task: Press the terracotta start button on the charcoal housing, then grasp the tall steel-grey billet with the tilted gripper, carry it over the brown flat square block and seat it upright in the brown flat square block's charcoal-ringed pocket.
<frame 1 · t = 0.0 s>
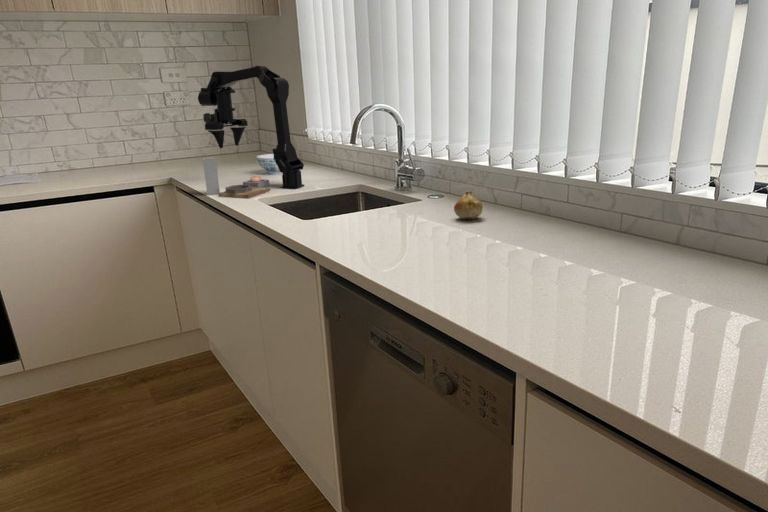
hand: (229, 146, 224), 15 cm above the worktop, tool pointing down, fingers open, 9 cm apart
start button: (255, 180, 219), point 3 cm above the worktop, slide at 0.0 cm
onion: (467, 219, 160), on the worktop
chinaware: (275, 173, 251), on the worktop
brown flat square block: (245, 193, 207), on the worktop
button housing: (256, 187, 219), on the worktop
billet: (213, 193, 210), on the worktop
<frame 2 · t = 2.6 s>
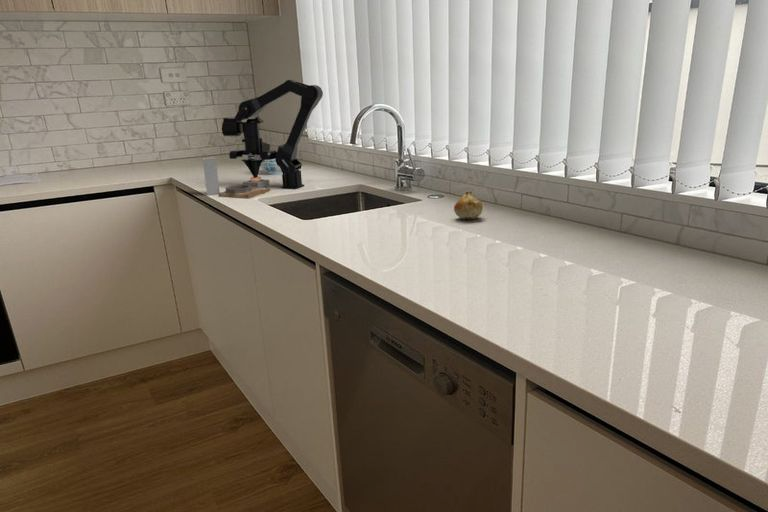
hand: (255, 177, 218), 4 cm above the worktop, tool pointing down, fingers closed, pressing on start button
start button: (255, 180, 219), point 3 cm above the worktop, slide at 0.2 cm, touching gripper
everything else where it was.
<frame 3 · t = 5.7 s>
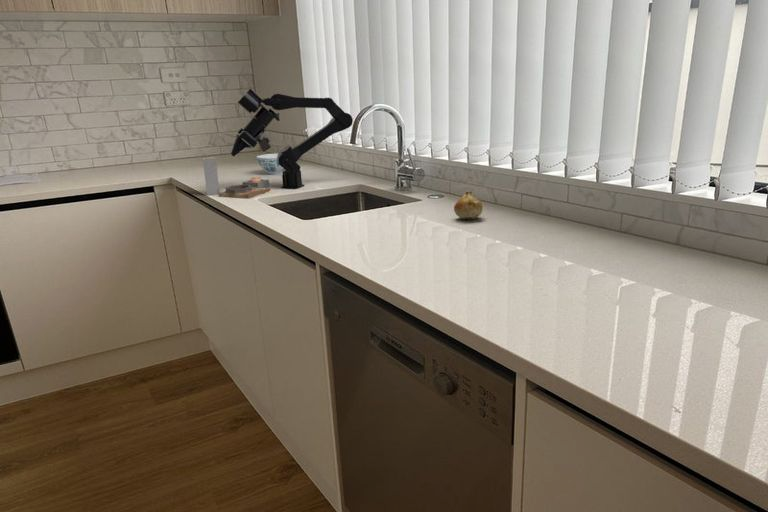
hand: (232, 155, 208), 14 cm above the worktop, tool tilted 45°, fingers open, 3 cm apart
start button: (255, 181, 219), point 2 cm above the worktop, slide at 0.5 cm
everything else where it was.
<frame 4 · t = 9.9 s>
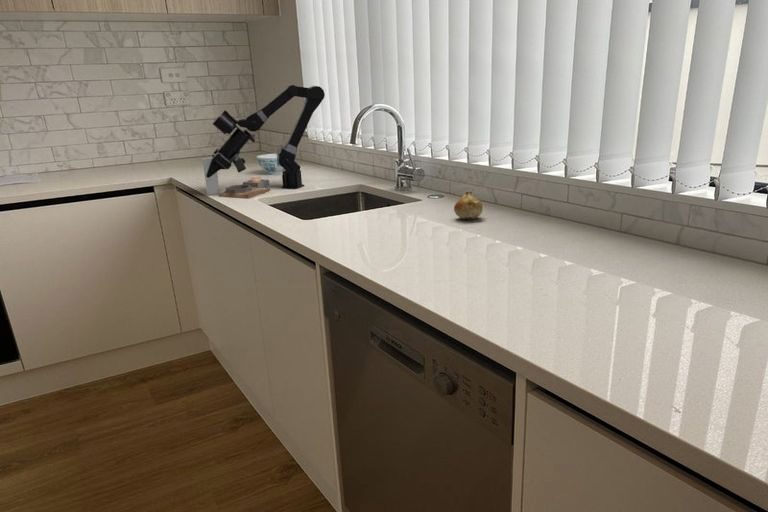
hand: (207, 176, 207), 7 cm above the worktop, tool tilted 45°, fingers closed on billet, 4 cm apart
billet: (213, 193, 210), on the worktop, touching gripper
everything else where it was.
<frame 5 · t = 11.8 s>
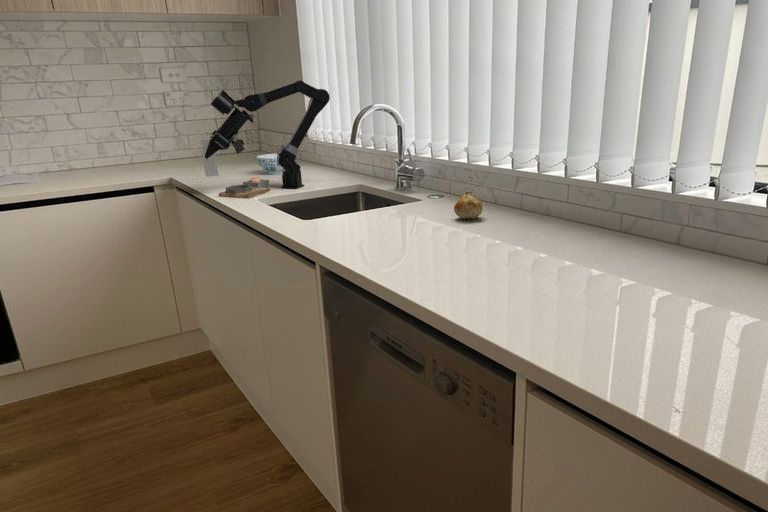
hand: (205, 157, 205), 13 cm above the worktop, tool tilted 45°, fingers closed on billet, 4 cm apart
billet: (212, 175, 208), point 7 cm above the worktop, touching gripper
everything else where it was.
when the fingers open (9 cm above the worktop, at t = 14.2 s): billet stays where it is, resting on brown flat square block.
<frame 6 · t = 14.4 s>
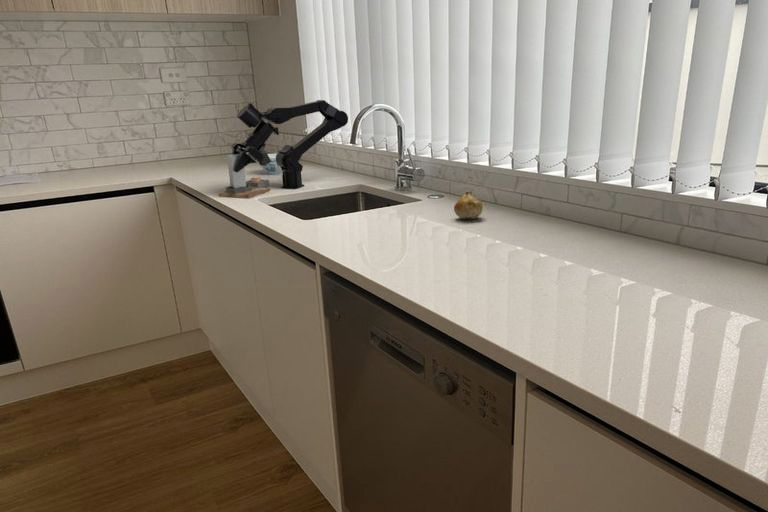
hand: (232, 170, 203), 9 cm above the worktop, tool tilted 45°, fingers open, 6 cm apart
billet: (238, 191, 206), point 1 cm above the worktop, touching brown flat square block
everything else where it was.
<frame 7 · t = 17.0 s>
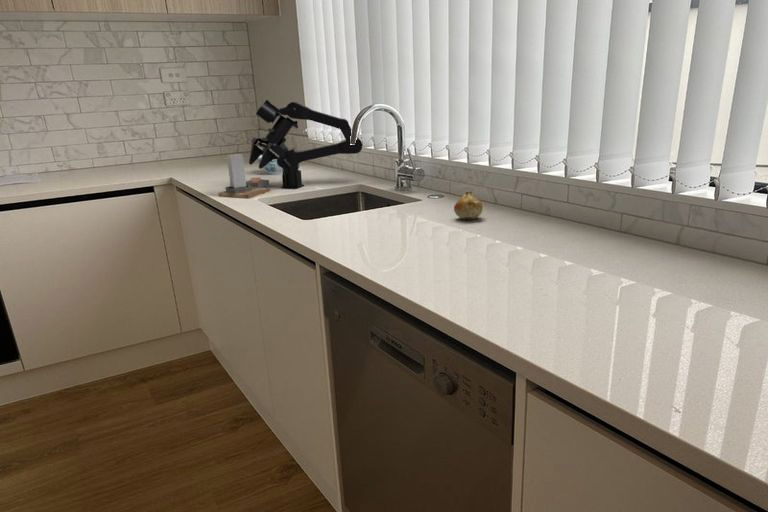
hand: (254, 166, 208), 9 cm above the worktop, tool tilted 40°, fingers open, 9 cm apart
nothing on the worktop moved.
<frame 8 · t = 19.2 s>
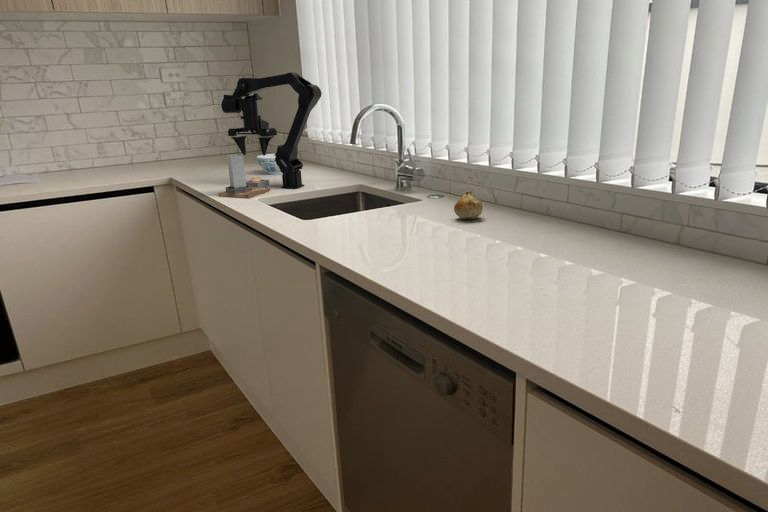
hand: (254, 155, 218), 12 cm above the worktop, tool pointing down, fingers open, 9 cm apart
nothing on the worktop moved.
at the end: billet 0.0 cm from the target spot on the brown flat square block, point 1.2 cm above the brown flat square block's base; billet tilted 0°; the gripper is holding nothing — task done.
